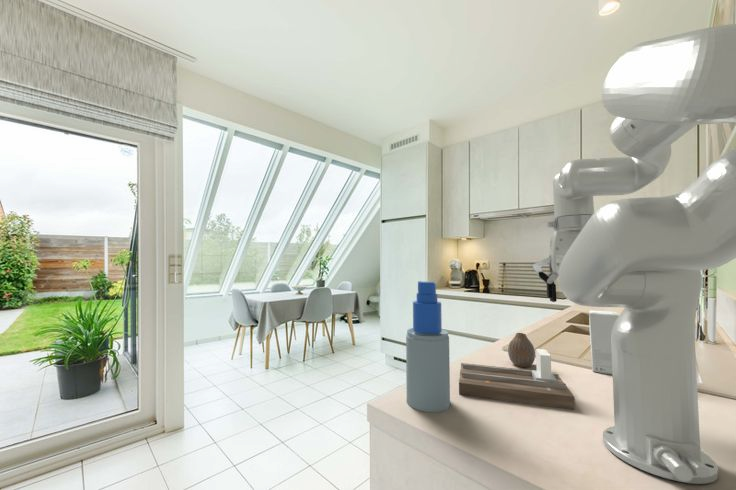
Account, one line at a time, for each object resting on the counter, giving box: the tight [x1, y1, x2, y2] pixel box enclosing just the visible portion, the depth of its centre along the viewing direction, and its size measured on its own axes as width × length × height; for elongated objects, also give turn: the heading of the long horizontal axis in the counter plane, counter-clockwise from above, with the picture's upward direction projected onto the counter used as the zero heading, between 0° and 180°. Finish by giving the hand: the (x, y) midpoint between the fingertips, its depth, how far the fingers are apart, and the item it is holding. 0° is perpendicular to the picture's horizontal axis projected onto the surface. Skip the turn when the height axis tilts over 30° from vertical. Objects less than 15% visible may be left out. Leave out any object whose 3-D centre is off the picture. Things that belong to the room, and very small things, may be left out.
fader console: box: [458, 362, 576, 411], centre depth 71 cm, size 14×22×4 cm, turn 71°
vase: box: [507, 332, 536, 368], centre depth 88 cm, size 7×7×9 cm
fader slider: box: [531, 348, 557, 382], centre depth 69 cm, size 5×4×6 cm
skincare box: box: [588, 309, 619, 376], centre depth 84 cm, size 8×7×16 cm
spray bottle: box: [405, 280, 451, 413], centre depth 65 cm, size 9×9×25 cm
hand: (577, 302), depth 68 cm, fingers open, 9 cm apart
